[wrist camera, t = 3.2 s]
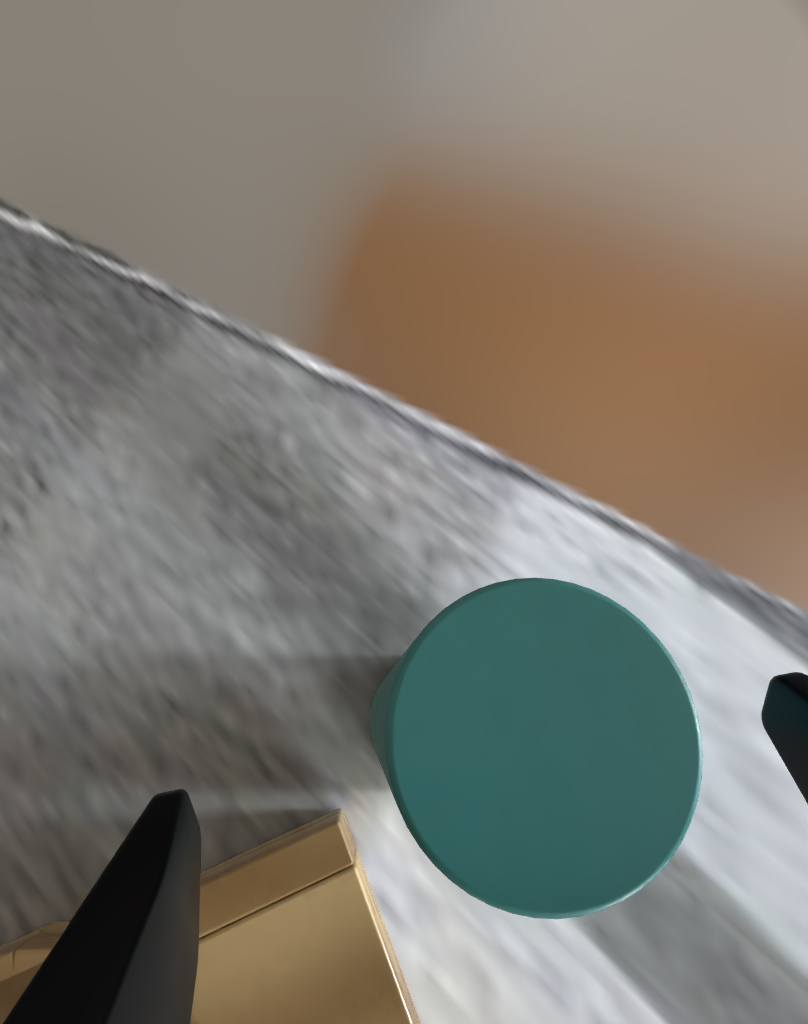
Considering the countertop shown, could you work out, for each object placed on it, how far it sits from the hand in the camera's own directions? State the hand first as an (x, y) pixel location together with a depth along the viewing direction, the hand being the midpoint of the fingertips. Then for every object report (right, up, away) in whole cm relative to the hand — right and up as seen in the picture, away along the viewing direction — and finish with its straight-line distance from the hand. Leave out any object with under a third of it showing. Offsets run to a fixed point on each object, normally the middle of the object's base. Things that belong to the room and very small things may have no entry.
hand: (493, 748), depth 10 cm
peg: (-1, -2, +8) cm, 8 cm away
